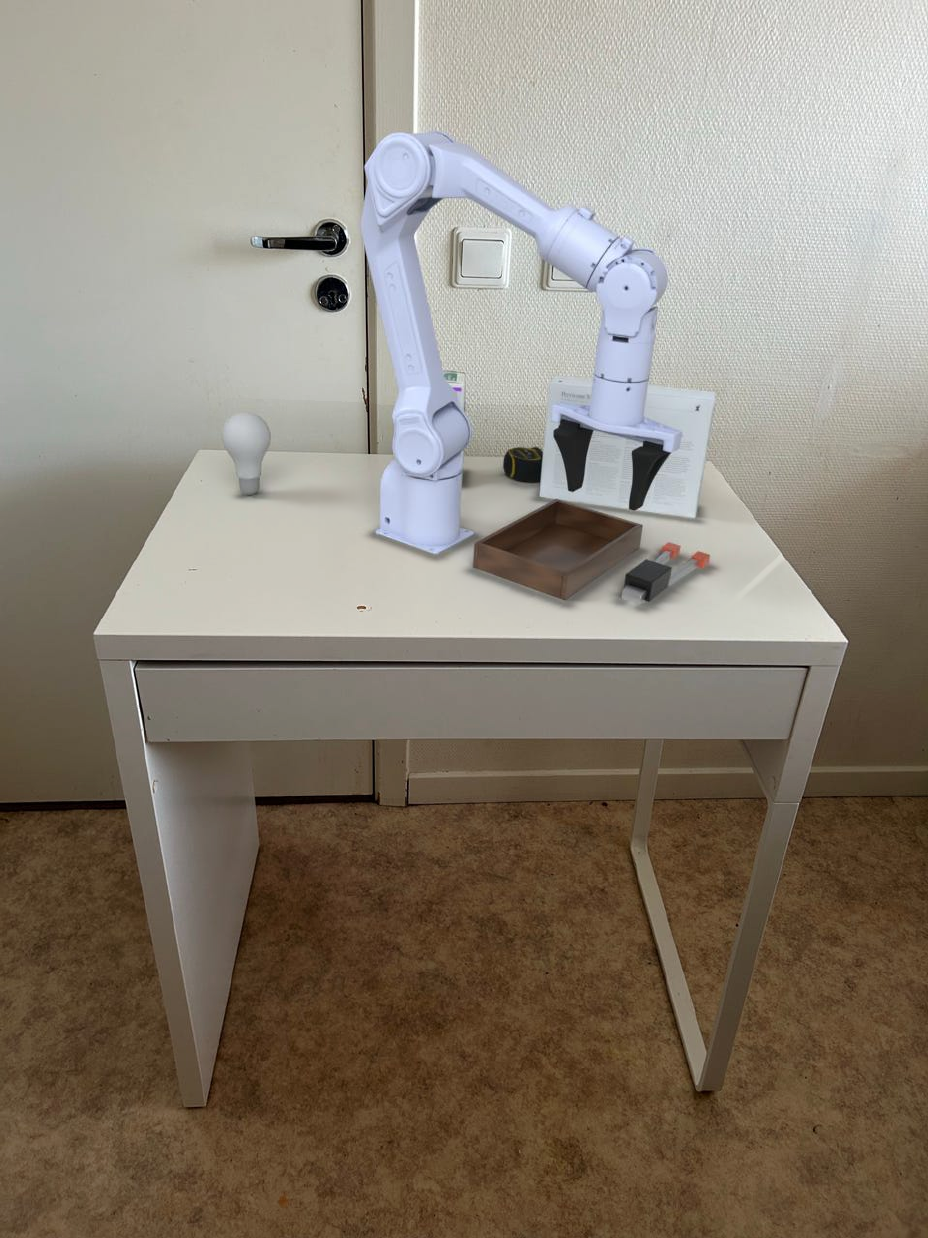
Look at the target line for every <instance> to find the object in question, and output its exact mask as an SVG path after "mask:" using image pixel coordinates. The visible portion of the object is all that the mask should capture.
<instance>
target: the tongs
mask: <svg viewBox="0 0 928 1238" xmlns="http://www.w3.org/2000/svg"><path fill="white" fill-rule="evenodd" d="M661 547H662V548H661V552H660V555H659V556H658V557H657V558H655V560H650V559H647V558H646V559H644V560H643V561H642V562H640V563H639V564H638V565H636V566H635V567H634V568H632V569H630V570H629V571H628V572H627V573H625V578H624V585H623V589H622V592H621V599H622V600H625V601H627V602H630V603H633V604H636V605H638V606H640V605H641V604H643V603H644V602H647V603H651V601H653V600H654V599H655V598H656V597H657V596H658V595H660V594H661V593H662V592H663V591H665V590H666V589H668V587H670V586H672V585H673V584H675V583H676V582H678V581H680V580H681V579H683V578H684V577H686V576H687V575H688V574H689V573H691V572H693V571H695V570H696V569H697V568H698V569H699V568H700V569H705V568H706V567H707V566H708V565H709V564H710V560H711V559H710V558H711V554H708V553H705V552H702V551H698V550H697V551H696V552H695V553H694V554H692V555H691V559H690V560H689V561H687V562H686V563H683V565H681V566H679V567H678V568H676V569H675V570H673V567H672V566H669V565H667V563H668V562H669V561H670V560H674V559H675V558H676V557H678V556H680V553H681V545H679V544H676V543H673V542H669V541H668V542H667V543H665V544H664V545H663V546H661ZM672 570H673V571H672Z"/></svg>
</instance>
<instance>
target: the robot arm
mask: <svg viewBox="0 0 928 1238" xmlns="http://www.w3.org/2000/svg"><path fill="white" fill-rule="evenodd" d="M364 173H365V176H366V181H367V183H366V188H365V195H364V200H363V206H362V211H361V218H360V224H359V225H360V232H361V237H362V241H363V246H364V249H365V255H366V259H367V263H368V267H369V272H370V275H371V276H370V277H371V280H372V284H373V288H374V292H375V296H376V297H375V298H376V300H377V305H378V309H379V314H380V318H381V322H382V325H383V330H384V335H385V339H386V342H387V348H388V351H389V356H390V360H391V364H392V368H393V369H392V370H393V372H394V377H395V381H396V385H397V390H398V394H397V397H396V401H395V404H394V407H393V409H392V410H393V411H392V414H391V419H392V422H393V428H394V429H393V433H394V434H393V437H392V441H391V447H392V454H393V457H394V459H393V460H391V462H389V463H388V464H387V466H386V467H385V469H384V470H383V473H382V475H381V478H380V483H379V528H378V529H376V530H375V535H377V536H378V535H381V536H384V537H387V538H389V539H392V540H394V541H397V542H401V543H404V544H405V545H409V546H411V547H413V548H417V549H419V550H422V551H425V552H428V553H431V554H435V555H437V554H440V553H442V552H443V551H445V550H447V549H449V548H451V547H453V546H454V545H457V544H459V543H460V542H462V541H464V540H466V539H468V538H470V537H472V536H473V535H475V532H474V531H473V530H470V529H466V528H464V527H461V526H460V525H461V509H462V491H463V489H462V488H463V480H462V470H463V471H464V465H463V464H462V460H461V452H462V451H463V450H464V451H465V449H466V448H467V447H468V446H469V444H470V442H471V440H472V436H473V427H472V423H471V419H470V418H469V416H468V414H467V413H466V411H465V412H464V411H463V409H462V408H461V406H460V403H459V400H458V396H457V392H456V391H455V390H454V389H453V388H452V387H451V386H450V385H449V384H448V383H447V382H446V380H445V378H444V373H443V370H444V368H443V365H442V364H443V363H442V361H441V355H440V351H439V347H438V342H437V338H436V332H435V327H434V323H433V318H432V313H431V309H430V304H429V299H428V296H427V295H428V294H427V291H426V287H425V281H424V277H423V272H422V268H421V263H420V258H419V254H418V249H417V245H416V239H415V234H416V232H417V231H418V229H419V227H420V226H421V224H422V223H423V221H424V220H425V218H426V217H427V215H428V214H429V213H430V210H431V209H433V208H434V207H435V206H436V205H437V204H438V203H439V202H441V201H442V200H444V199H468V200H471V201H473V202H474V203H476V204H477V205H479V206H481V207H482V208H484V209H486V210H488V211H489V212H491V213H492V214H494V215H495V216H497V217H499V218H500V219H502V220H504V221H506V222H507V223H508V224H511V225H512V226H513V227H515V228H516V229H518V230H520V231H521V232H523V233H525V234H527V235H528V236H530V237H531V238H534V240H535V243H536V247H537V250H538V254H539V255H538V256H539V258H540V259H541V260H543V261H545V262H546V263H547V264H549V265H550V266H552V267H553V268H555V269H556V270H558V271H559V272H561V273H562V274H564V275H565V276H566V277H568V278H569V279H571V280H573V281H574V282H575V283H577V284H578V285H580V286H581V287H583V289H586V290H587V291H589V292H590V293H596V297H597V301H598V303H599V305H600V307H601V308H602V310H601V317H600V318H601V319H600V325H599V329H598V334H597V343H596V349H595V350H596V351H595V358H594V367H593V375H592V379H593V383H592V391H591V400H590V405H583V404H576V403H570V402H565V401H560V402H557V403H555V404H553V405H552V415H551V421H552V422H556V423H560V425H559V427H558V428H557V429H555V430H554V431H553V437H554V439H555V441H556V443H557V445H558V447H559V450H560V453H561V456H562V459H563V462H564V467H565V472H566V478H567V486H568V491H570V492H574V491H576V490H578V489H580V488H582V485H583V481H584V474H585V465H586V457H587V452H588V448H589V444H590V440H591V437H592V434H593V431H594V430H595V431H599V432H603V433H606V434H610V435H614V436H618V437H622V438H626V439H629V440H633V441H637V442H641V443H643V446H642V447H641V446H640V447H638V448H636V449H634V450H632V464H633V477H632V487H631V493H630V498H629V509H628V510H630V511H633V512H634V511H638V510H637V509H639V508H640V507H642V506H643V503H644V500H645V498H646V495H647V492H648V490H649V488H650V486H651V484H652V482H653V480H654V478H655V476H656V474H657V473H658V471H659V469H660V468H661V466H662V465H663V463H664V462H665V461H666V459H667V458H668V457H669V455H670V454H671V453H672V452H674V451H676V450H677V449H679V448H680V442H681V437H682V430H678V429H675V428H671V427H669V426H666V425H664V424H661V423H659V422H656V421H654V420H651V419H649V418H646V417H644V416H643V415H644V409H645V402H646V395H647V388H648V385H649V380H650V376H651V368H652V362H653V356H654V355H653V354H654V348H655V342H656V325H657V322H658V311H659V307H658V306H657V305H656V304H657V303H658V302H659V301H660V300H661V299H662V298H663V296H664V295H665V292H666V290H667V287H668V283H669V274H668V269H667V266H666V265H665V262H664V261H663V260H662V259H661V258H660V257H659V255H657V254H656V253H655V251H654V250H653V249H652V248H648V247H635V248H633V246H634V244H635V240H634V239H633V238H631V237H630V236H628V235H626V236H623V238H622V237H621V236H619V235H618V234H617V233H615V232H613V231H612V230H610V229H609V228H607V227H606V226H604V225H603V224H601V223H600V222H598V221H597V220H596V219H594V218H595V215H596V211H595V210H592V209H591V208H590V207H588V206H586V205H585V206H581V207H580V208H577V207H576V206H575V205H573V204H569V205H565V206H563V207H559V208H553V207H552V206H551V205H549V204H548V203H546V202H545V201H544V200H542V199H541V198H540V197H539V196H537V195H536V194H535V193H533V192H532V191H530V190H529V189H528V188H527V187H525V186H524V185H522V184H521V183H520V182H518V181H517V180H516V179H514V178H513V177H512V176H511V175H509V174H507V173H506V172H505V171H504V170H502V169H501V168H499V167H498V166H496V165H495V164H494V163H493V162H492V161H490V160H489V159H487V158H486V157H485V156H484V155H482V154H480V153H479V152H478V151H477V150H476V149H474V148H473V147H472V146H470V145H468V144H466V143H464V142H462V141H456V140H455V138H453V136H451V135H450V134H448V133H446V132H444V131H440V130H428V131H425V132H415V133H407V132H403V131H402V132H397V131H396V132H393V133H389V134H388V135H387V136H385V137H383V139H381V141H380V142H379V143H378V144H377V146H376V147H375V149H374V150H373V152H372V153H371V155H370V157H368V160H367V161H366V162H365V164H364Z"/></svg>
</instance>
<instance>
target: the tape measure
mask: <svg viewBox="0 0 928 1238" xmlns="http://www.w3.org/2000/svg"><path fill="white" fill-rule="evenodd" d="M542 460H543V449H541V448H540V447H538V446H533V447H524V446H519V447H518V446H517V447H512V448H509V449H508V450H507V451H506V452H505V455H504V456H503V461H502V467H503V471H504V473H505V475H506V476H507V477H509V478H511V479H513V480H515V481H519V482H524V483H537V482H541V471H542Z"/></svg>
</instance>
